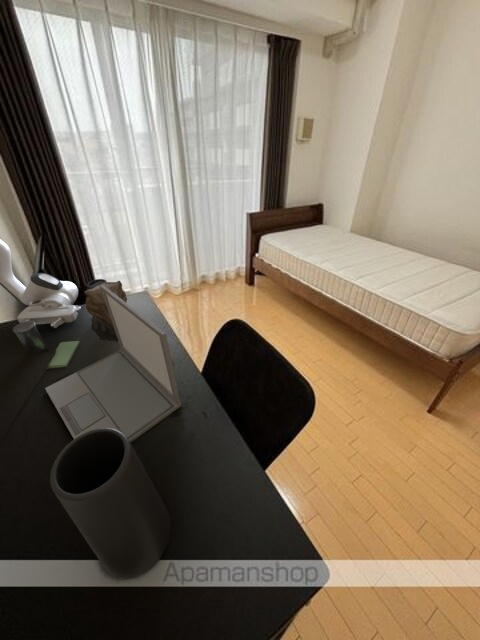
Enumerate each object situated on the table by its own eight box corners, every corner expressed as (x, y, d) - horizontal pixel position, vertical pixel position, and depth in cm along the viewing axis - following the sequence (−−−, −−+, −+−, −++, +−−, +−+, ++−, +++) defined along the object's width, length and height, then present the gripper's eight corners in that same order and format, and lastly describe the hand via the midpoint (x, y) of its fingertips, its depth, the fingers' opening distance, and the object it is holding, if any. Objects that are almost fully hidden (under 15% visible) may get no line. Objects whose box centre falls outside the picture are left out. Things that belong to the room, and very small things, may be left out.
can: (25, 359, 100) (8, 333, 93) (34, 347, 105) (18, 321, 98) (44, 358, 100) (29, 331, 93) (52, 346, 105) (38, 320, 98)
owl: (94, 340, 108) (76, 295, 96) (110, 321, 118) (95, 277, 106) (126, 342, 107) (111, 296, 95) (139, 322, 117) (127, 279, 105)
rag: (45, 368, 96) (44, 366, 95) (61, 343, 106) (60, 342, 106) (66, 367, 96) (65, 365, 96) (80, 342, 107) (79, 340, 106)
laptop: (46, 391, 88) (2, 319, 72) (125, 350, 103) (103, 284, 87) (92, 470, 68) (45, 396, 52) (182, 405, 83) (166, 332, 67)
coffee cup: (92, 318, 120) (80, 287, 111) (104, 307, 126) (94, 277, 118) (110, 320, 118) (99, 289, 109) (121, 310, 125) (112, 279, 116)
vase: (183, 514, 60) (159, 436, 43) (141, 595, 50) (88, 534, 33) (133, 487, 65) (93, 407, 48) (84, 556, 54) (12, 486, 38)
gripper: (84, 312, 118) (72, 332, 107) (33, 315, 116) (14, 336, 105) (79, 299, 114) (66, 318, 103) (26, 302, 113) (6, 322, 101)
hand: (39, 327), depth 104 cm, fingers open, 8 cm apart
